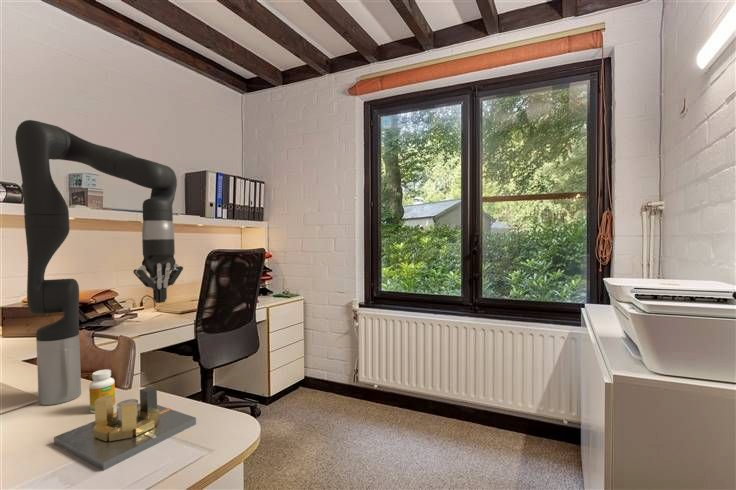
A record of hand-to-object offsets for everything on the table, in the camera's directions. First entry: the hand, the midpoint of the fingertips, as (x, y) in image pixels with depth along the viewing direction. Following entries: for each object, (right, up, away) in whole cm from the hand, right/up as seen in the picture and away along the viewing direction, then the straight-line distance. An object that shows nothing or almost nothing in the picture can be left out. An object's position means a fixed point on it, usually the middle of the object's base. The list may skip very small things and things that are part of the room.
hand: (160, 302), depth 102 cm
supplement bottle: (-13, -28, -3) cm, 31 cm away
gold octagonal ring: (+2, -26, -16) cm, 30 cm away
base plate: (+2, -27, -16) cm, 32 cm away
